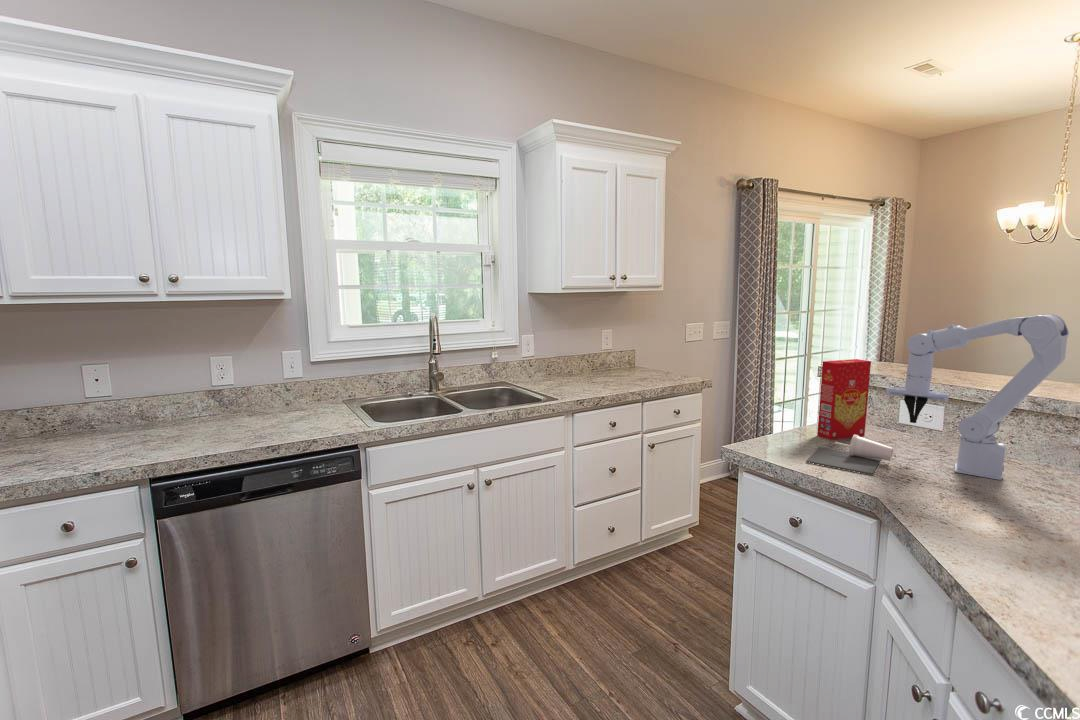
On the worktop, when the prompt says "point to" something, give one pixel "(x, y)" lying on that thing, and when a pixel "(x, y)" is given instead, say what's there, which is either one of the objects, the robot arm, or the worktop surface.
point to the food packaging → (843, 398)
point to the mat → (843, 460)
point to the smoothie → (868, 448)
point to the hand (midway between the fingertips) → (913, 422)
